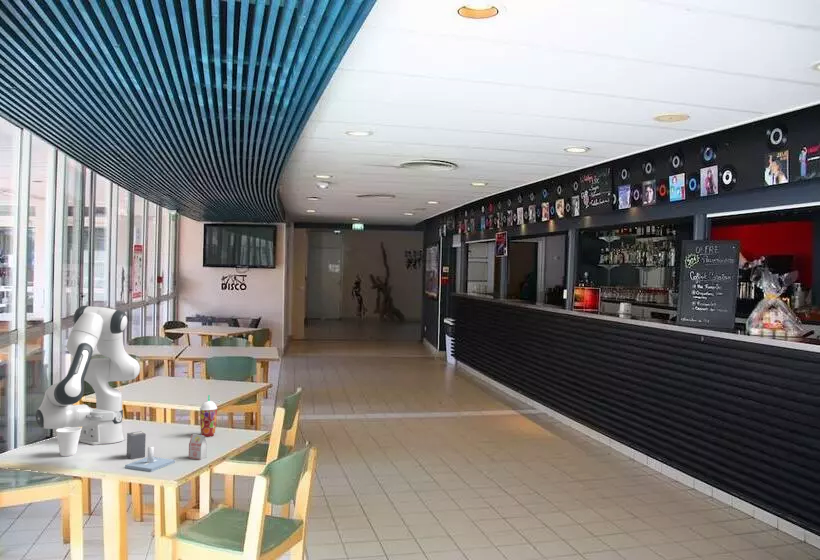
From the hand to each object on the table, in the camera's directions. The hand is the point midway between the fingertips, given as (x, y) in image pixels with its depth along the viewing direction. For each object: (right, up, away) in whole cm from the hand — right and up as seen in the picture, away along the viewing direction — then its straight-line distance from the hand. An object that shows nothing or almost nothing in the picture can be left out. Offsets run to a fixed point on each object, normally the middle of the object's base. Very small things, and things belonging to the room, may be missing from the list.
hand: (115, 413), depth 267 cm
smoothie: (+24, -21, +47) cm, 57 cm away
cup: (-24, -20, +7) cm, 32 cm away
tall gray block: (+6, -20, +7) cm, 22 cm away
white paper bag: (+32, -21, +8) cm, 39 cm away
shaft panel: (+17, -20, -5) cm, 27 cm away
